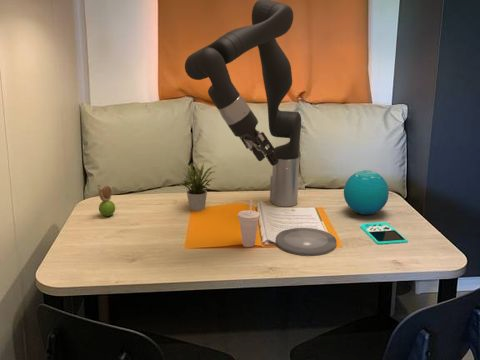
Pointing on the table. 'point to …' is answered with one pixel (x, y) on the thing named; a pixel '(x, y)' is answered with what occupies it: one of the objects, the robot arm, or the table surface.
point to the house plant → (197, 188)
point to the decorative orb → (366, 192)
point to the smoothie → (248, 226)
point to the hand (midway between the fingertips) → (268, 161)
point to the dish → (306, 241)
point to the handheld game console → (382, 233)
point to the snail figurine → (106, 201)
